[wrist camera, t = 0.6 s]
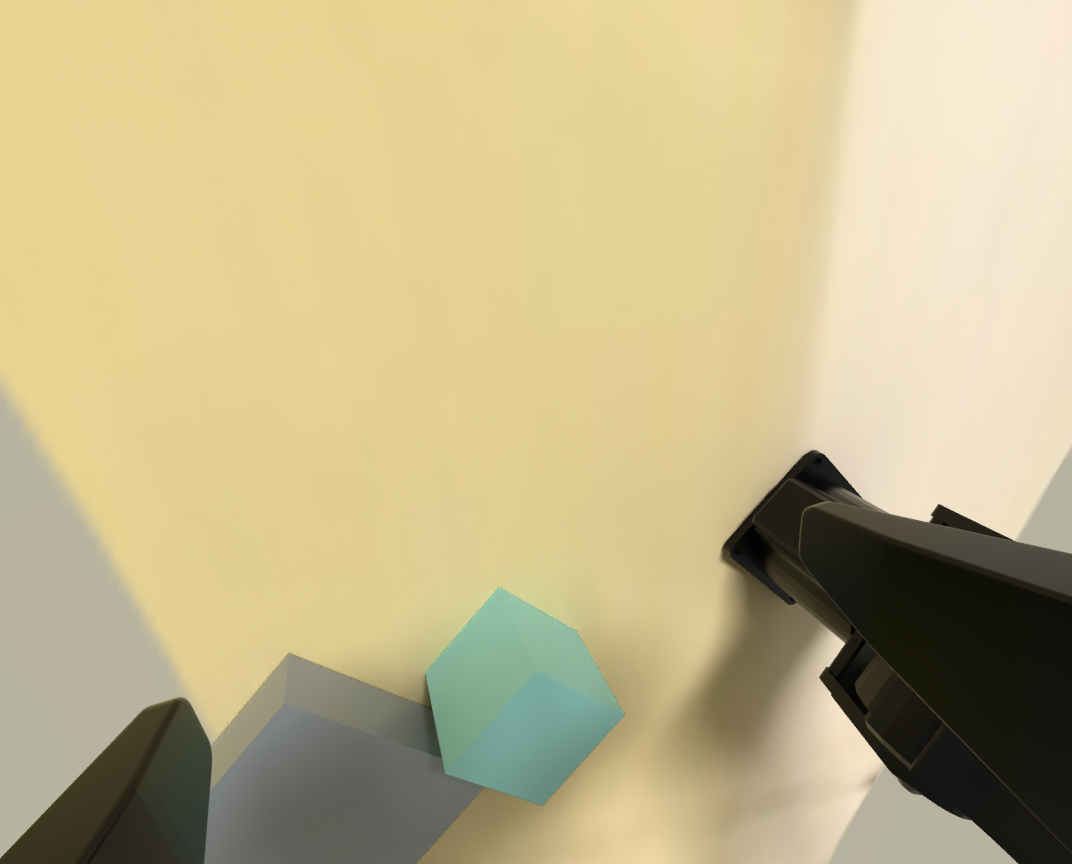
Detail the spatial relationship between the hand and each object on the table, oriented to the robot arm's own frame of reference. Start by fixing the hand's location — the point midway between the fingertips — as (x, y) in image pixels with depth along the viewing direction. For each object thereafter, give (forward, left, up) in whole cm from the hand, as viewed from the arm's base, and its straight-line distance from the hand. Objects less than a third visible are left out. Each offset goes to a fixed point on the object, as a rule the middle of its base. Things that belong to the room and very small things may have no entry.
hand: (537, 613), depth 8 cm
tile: (-8, +17, -13) cm, 23 cm away
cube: (-11, +8, -13) cm, 19 cm away
